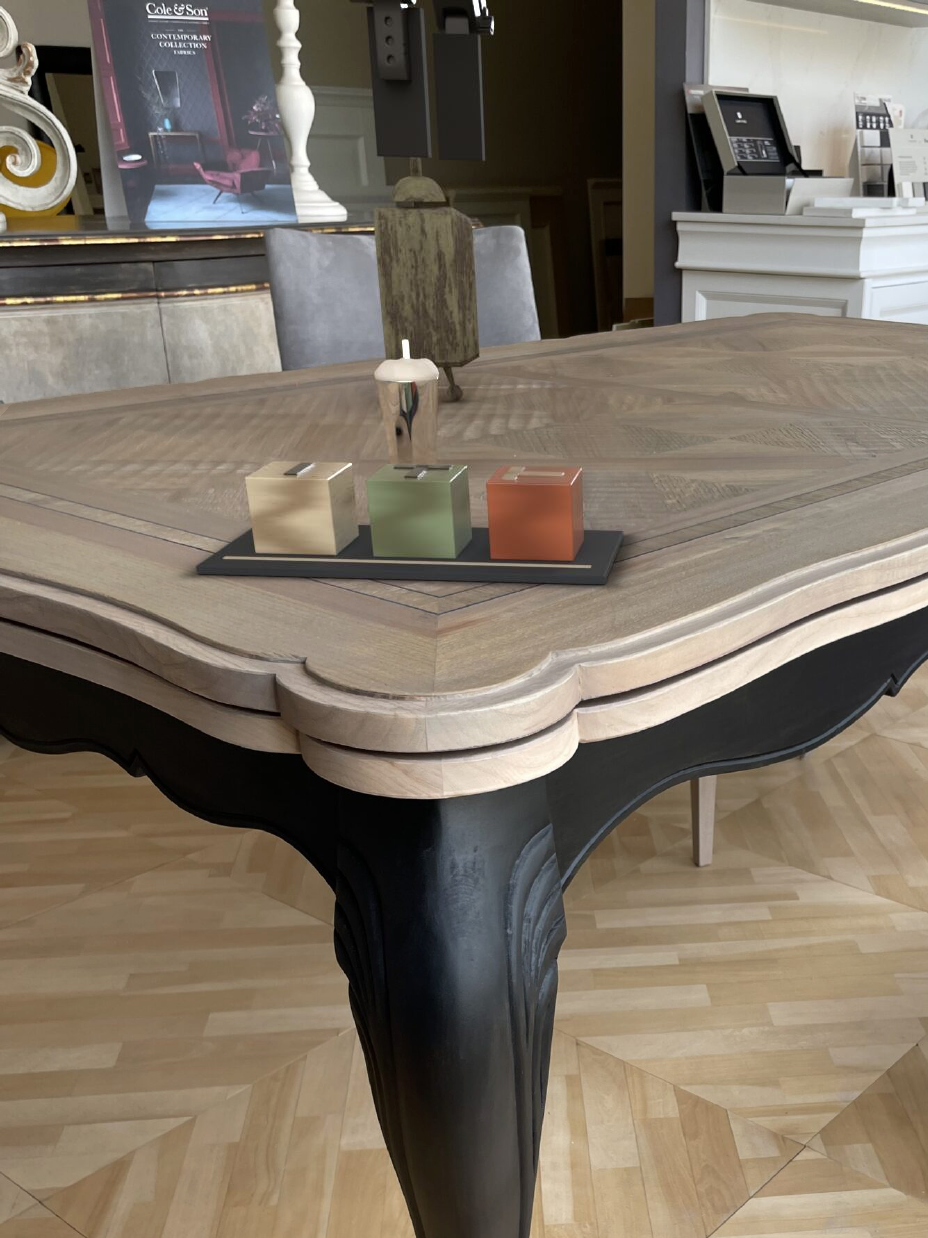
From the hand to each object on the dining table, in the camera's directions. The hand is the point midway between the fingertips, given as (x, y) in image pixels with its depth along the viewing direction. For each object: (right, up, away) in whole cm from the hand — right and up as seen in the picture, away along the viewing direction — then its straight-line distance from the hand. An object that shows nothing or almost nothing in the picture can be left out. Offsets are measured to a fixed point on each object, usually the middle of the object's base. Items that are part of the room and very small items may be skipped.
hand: (435, 160), depth 74 cm
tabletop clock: (-11, +9, +61) cm, 62 cm away
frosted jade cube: (-2, -21, +6) cm, 21 cm away
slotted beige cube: (-9, -20, +6) cm, 23 cm away
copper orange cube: (+5, -21, +6) cm, 22 cm away
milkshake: (-6, -12, +24) cm, 27 cm away
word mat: (-2, -21, +6) cm, 22 cm away
